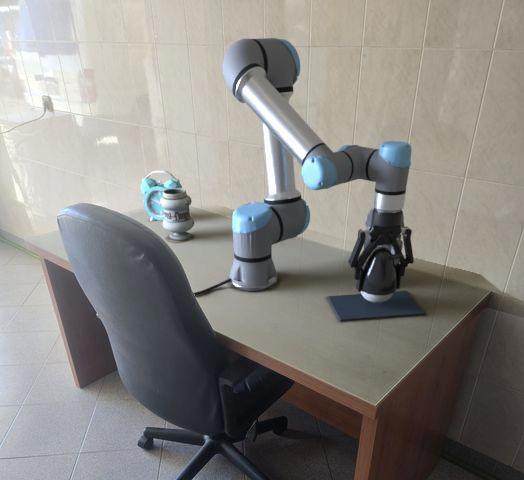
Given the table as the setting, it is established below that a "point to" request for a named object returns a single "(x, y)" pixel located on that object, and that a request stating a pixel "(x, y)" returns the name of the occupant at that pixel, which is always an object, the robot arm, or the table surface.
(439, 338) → the table surface
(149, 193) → the alarm clock
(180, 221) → the apothecary jar
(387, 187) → the robot arm
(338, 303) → the desk mat
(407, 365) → the table surface
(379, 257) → the black rounded piece
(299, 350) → the table surface
